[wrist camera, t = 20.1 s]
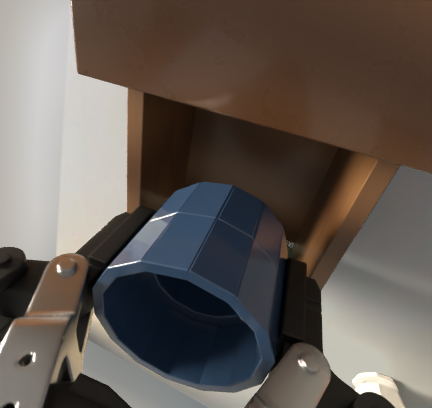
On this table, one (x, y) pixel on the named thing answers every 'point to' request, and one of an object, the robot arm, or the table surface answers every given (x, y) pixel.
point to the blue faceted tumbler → (200, 289)
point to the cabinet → (277, 64)
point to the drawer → (255, 173)
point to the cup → (378, 387)
